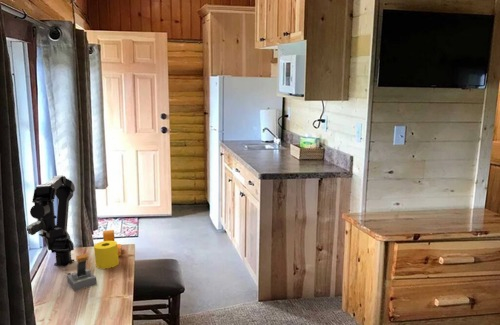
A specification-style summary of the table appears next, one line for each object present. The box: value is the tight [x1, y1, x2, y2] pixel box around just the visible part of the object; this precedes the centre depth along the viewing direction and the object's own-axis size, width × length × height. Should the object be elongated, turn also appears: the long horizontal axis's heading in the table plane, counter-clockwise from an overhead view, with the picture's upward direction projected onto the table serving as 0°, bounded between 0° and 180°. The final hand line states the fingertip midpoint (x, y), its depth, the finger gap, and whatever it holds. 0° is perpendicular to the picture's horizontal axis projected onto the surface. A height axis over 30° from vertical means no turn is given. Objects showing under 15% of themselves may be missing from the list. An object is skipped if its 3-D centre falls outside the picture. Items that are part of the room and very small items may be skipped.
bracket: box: [102, 229, 122, 257], centre depth 218 cm, size 11×7×12 cm, turn 14°
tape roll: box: [93, 240, 120, 270], centre depth 206 cm, size 10×10×9 cm
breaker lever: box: [75, 253, 89, 277], centre depth 185 cm, size 2×4×11 cm, turn 128°
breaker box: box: [66, 268, 98, 292], centre depth 188 cm, size 10×9×5 cm
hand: (50, 250), depth 193 cm, fingers closed
